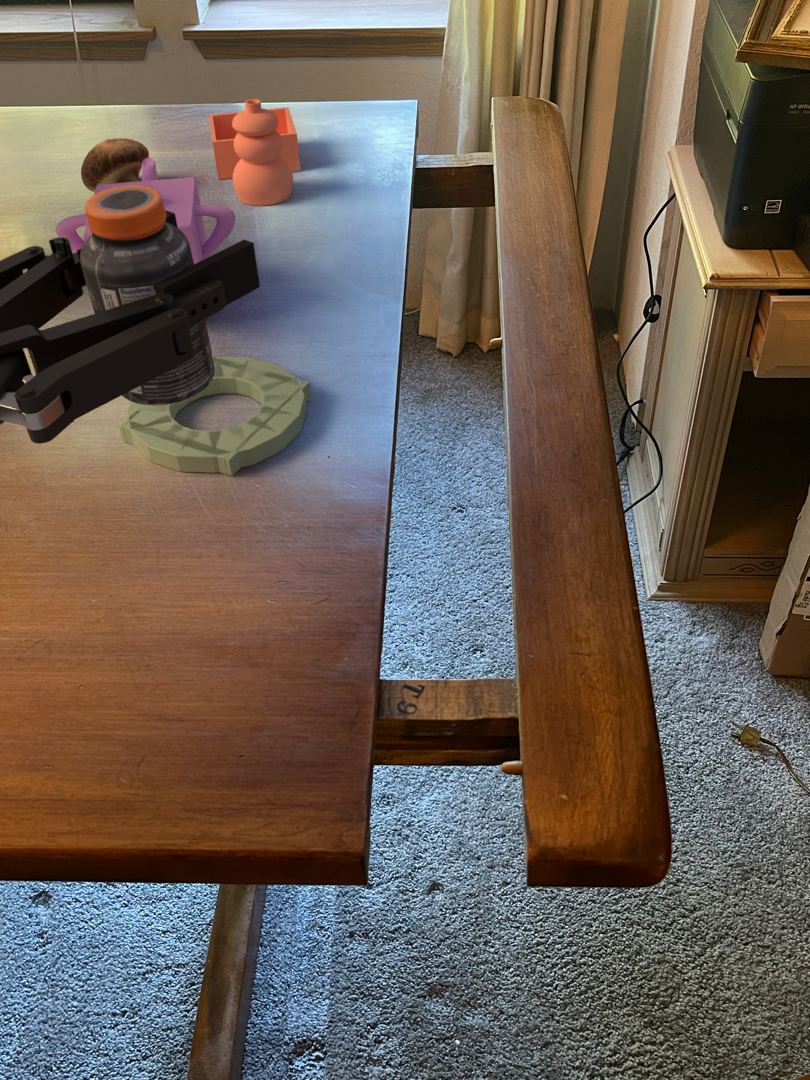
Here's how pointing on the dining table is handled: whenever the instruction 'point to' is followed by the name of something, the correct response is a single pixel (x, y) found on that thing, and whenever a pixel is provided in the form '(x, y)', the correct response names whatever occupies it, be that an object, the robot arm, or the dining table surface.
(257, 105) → the pottery
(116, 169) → the mushroom
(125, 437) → the hole board
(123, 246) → the pill bottle
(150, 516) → the dining table surface
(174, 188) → the teapot
